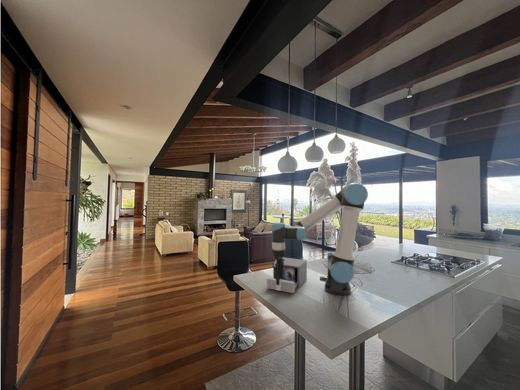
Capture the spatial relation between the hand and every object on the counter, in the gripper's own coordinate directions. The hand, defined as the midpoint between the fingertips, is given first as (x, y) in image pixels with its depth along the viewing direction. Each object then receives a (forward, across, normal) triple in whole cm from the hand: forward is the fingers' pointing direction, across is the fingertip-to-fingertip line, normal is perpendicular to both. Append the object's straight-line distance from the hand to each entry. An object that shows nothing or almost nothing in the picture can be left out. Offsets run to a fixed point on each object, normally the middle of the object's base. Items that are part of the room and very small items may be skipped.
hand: (278, 289), depth 128 cm
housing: (+2, -22, 0) cm, 22 cm away
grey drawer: (+1, -13, 0) cm, 13 cm away
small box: (+1, -16, 0) cm, 16 cm away
